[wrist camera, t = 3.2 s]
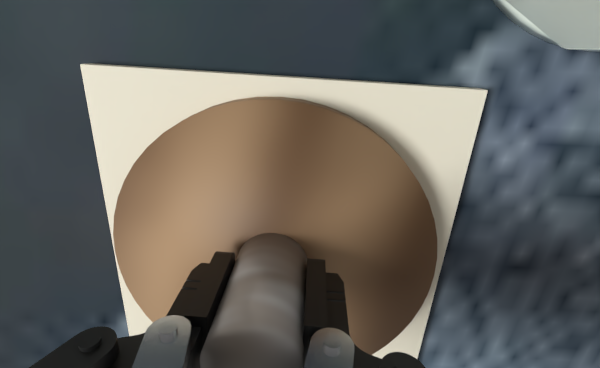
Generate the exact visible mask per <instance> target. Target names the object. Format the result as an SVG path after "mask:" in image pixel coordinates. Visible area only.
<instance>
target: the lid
mask: <svg viewBox="0 0 600 368" xmlns="http://www.w3.org/2000/svg"><path fill="white" fill-rule="evenodd" d="M113 238H114V247H115V254H116V257H117V261H118V265H119V269H120V271H121V274H122V276H123V279H124V281H125V284H126V286H127V288H128V289H129V291H130V293H131V295H132V296H133V298H134V300H135V301H136V303H137V304H138V305H139V307H140V308H141V309H142V311H143V312H144V313H145V315H146V316H147V317H148V318H149V319H150V320H151V321H152V322H154V321H156V320H158V319H160V318H162V317H165V316H166V315H167V313H168V312H169V310H170V308H171V306H172V305H173V303H174V301H175V299H176V297H177V296H178V294H179V292H180V290H181V289H182V287H183V285H184V283H185V281H186V279H187V278H188V276H189V274H190V272H191V271H192V270H193V269H194V268H195V267H196V266H198V265H199V264H200V263H210V261H211V259H212V257H213V255H214V253H215V252H216V251H220V252H234V253H235V264H234V267H233V270H232V272H231V275H230V278H229V280H228V283H227V286H226V288H225V291H224V293H223V296H222V299H221V301H220V304H219V307H218V309H217V312H216V314H215V317H214V320H213V322H212V325H211V328H210V330H209V333H208V335H207V338H206V341H205V343H204V346H203V349H202V351H201V354H200V368H303V367H304V345H303V330H304V310H305V290H306V271H307V258H310V259H323V260H325V267H326V273H338V275H339V276H340V278H341V279H342V280H343V282H344V288H345V298H346V307H347V316H348V325H349V333H350V337H351V339H352V341H353V342H354V344H355V345H356V346H357V347H358V348H359V349H361V350H362V351H364V352H366V353H368V354H370V355H373V354H374V353H376V352H377V351H379V350H380V349H382V348H383V347H385V346H386V345H387V344H389V343H390V342H391V341H392V340H393V339H395V338H396V337H397V336H398V335H399V334H400V333H401V332H402V331H403V330H404V329H405V328H406V327H407V326H408V325H409V324H410V322H411V321H412V320H413V318H414V317H415V315H416V314H417V313H418V311H419V310H420V308H421V306H422V305H423V303H424V301H425V299H426V297H427V295H428V293H429V290H430V287H431V284H432V281H433V278H434V274H435V268H436V262H437V233H436V226H435V220H434V217H433V213H432V210H431V207H430V204H429V201H428V199H427V197H426V195H425V193H424V191H423V189H422V187H421V185H420V183H419V181H418V180H417V178H416V177H415V176H414V174H413V173H412V171H411V170H410V168H409V167H408V166H407V164H406V163H405V161H404V160H403V159H402V157H401V156H400V155H399V154H398V153H397V152H396V151H395V150H394V149H393V148H392V147H391V146H390V144H389V143H388V142H387V141H386V140H385V139H383V138H382V137H381V136H379V135H378V134H377V133H376V132H374V131H373V130H372V129H371V128H369V127H368V126H366V125H365V124H363V123H361V122H360V121H358V120H356V119H355V118H353V117H351V116H349V115H348V114H345V113H343V112H340V111H338V110H336V109H333V108H331V107H328V106H326V105H322V104H318V103H314V102H311V101H307V100H303V99H295V98H287V97H251V98H244V99H237V100H232V101H228V102H225V103H221V104H218V105H214V106H211V107H209V108H207V109H205V110H202V111H200V112H198V113H196V114H194V115H191V116H190V117H188V118H186V119H184V120H182V121H181V122H179V123H178V124H176V125H175V126H173V127H172V128H170V129H168V130H167V131H165V132H164V133H163V134H161V135H160V136H159V137H158V138H157V139H156V140H155V141H154V142H152V143H151V144H150V145H149V146H148V147H147V148H146V149H145V150H144V152H143V153H142V154H141V155H140V157H139V158H138V159H137V160H136V161H135V163H134V164H133V166H132V168H131V169H130V171H129V173H128V175H127V176H126V178H125V180H124V182H123V185H122V188H121V190H120V193H119V195H118V198H117V203H116V208H115V213H114V225H113Z"/></svg>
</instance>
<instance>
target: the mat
mask: <svg viewBox="0 0 600 368" xmlns="http://www.w3.org/2000/svg"><path fill="white" fill-rule="evenodd" d="M80 66H81V72H82V77H83V83H84V88H85V94H86V99H87V105H88V110H89V116H90V121H91V127H92V132H93V138H94V143H95V149H96V154H97V160H98V165H99V171H100V176H101V182H102V187H103V193H104V198H105V204H106V209H107V215H108V220H109V226H110V231H111V237H112V242H113V248H114V253H115V247H114V238H113V225H114V213H115V208H116V203H117V198H118V195H119V193H120V190H121V188H122V185H123V182H124V180H125V178H126V176H127V175H128V173H129V171H130V169H131V168H132V166H133V164H134V163H135V161H136V160H137V159H138V158H139V157H140V155H141V154H142V153H143V152H144V150H145V149H146V148H147V147H148V146H149V145H150V144H151V143H152V142H154V141H155V140H156V139H157V138H158V137H159V136H160V135H161V134H163V133H164V132H165V131H167V130H168V129H170V128H172V127H173V126H175V125H176V124H178V123H179V122H181V121H182V120H184V119H186V118H188V117H190V116H191V115H194V114H196V113H198V112H200V111H202V110H205V109H207V108H209V107H211V106H214V105H218V104H221V103H225V102H228V101H232V100H237V99H244V98H251V97H287V98H295V99H303V100H307V101H311V102H314V103H318V104H322V105H326V106H328V107H331V108H333V109H336V110H338V111H340V112H343V113H345V114H348V115H349V116H351V117H353V118H355V119H356V120H358V121H360V122H361V123H363V124H365V125H366V126H368V127H369V128H371V129H372V130H373V131H374V132H376V133H377V134H378V135H379V136H381V137H382V138H383V139H385V140H386V141H387V142H388V143H389V144H390V146H391V147H392V148H393V149H394V150H395V151H396V152H397V153H398V154H399V155H400V156H401V157H402V159H403V160H404V161H405V163H406V164H407V166H408V167H409V168H410V170H411V171H412V173H413V174H414V176H415V177H416V178H417V180H418V181H419V183H420V185H421V187H422V189H423V191H424V193H425V195H426V197H427V199H428V201H429V204H430V207H431V210H432V213H433V217H434V220H435V226H436V233H437V262H436V268H435V274H434V278H433V281H432V284H431V287H430V290H429V293H428V295H427V297H426V299H425V301H424V303H423V305H422V306H421V308H420V310H419V311H418V313H417V314H416V315H415V317H414V318H413V320H412V321H411V322H410V324H409V325H408V326H407V327H406V328H405V329H404V330H403V331H402V332H401V333H400V334H399V335H398V336H397V337H396V338H395V339H393V340H392V341H391V342H390V343H389V344H387V345H386V346H385V347H383V348H382V349H380V350H379V351H377V352H376V353H374V354H373V356H375V357H378V358H381V359H382V358H383V357H384V356H385V355H387V354H389V353H391V352H403V353H406V354H409V355H411V356H413V357H415V358H416V359H417V358H418V355H419V351H420V347H421V343H422V339H423V336H424V332H425V328H426V324H427V320H428V317H429V313H430V309H431V305H432V301H433V298H434V294H435V290H436V286H437V282H438V278H439V275H440V271H441V267H442V263H443V259H444V256H445V252H446V248H447V244H448V240H449V237H450V233H451V229H452V225H453V221H454V217H455V214H456V210H457V206H458V202H459V198H460V195H461V191H462V187H463V183H464V179H465V176H466V172H467V168H468V164H469V160H470V156H471V153H472V149H473V145H474V141H475V137H476V134H477V130H478V126H479V122H480V118H481V115H482V111H483V107H484V103H485V99H486V95H487V92H488V90H485V89H481V88H468V87H453V86H437V85H421V84H406V83H390V82H374V81H359V80H343V79H327V78H312V77H296V76H280V75H265V74H249V73H233V72H218V71H202V70H186V69H171V68H155V67H139V66H124V65H108V64H93V63H88V64H80ZM115 259H116V264H117V270H118V275H119V281H120V286H121V291H122V297H123V302H124V308H125V313H126V319H127V324H128V330H129V335H130V336H134V335H139V334H142V333H145V332H146V330H147V328H148V327H149V326H150V325H151V324H152V323H153V322H152V321H151V320H150V319H149V318H148V317H147V316H146V315H145V313H144V312H143V311H142V309H141V308H140V307H139V305H138V304H137V303H136V301H135V300H134V298H133V296H132V295H131V293H130V291H129V289H128V288H127V286H126V284H125V281H124V279H123V276H122V274H121V271H120V269H119V265H118V261H117V257H116V254H115Z"/></svg>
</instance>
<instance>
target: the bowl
mask: <svg viewBox="0 0 600 368" xmlns="http://www.w3.org/2000/svg"><path fill="white" fill-rule="evenodd" d="M492 1H493V2H494V4H495V5H496V6H497V7H498V8H499V9H500V10H501V11H502V12H503V13H504V14H505V15H506V16H507V17H508V18H509V19H510V20H511V21H512V22H513V23H515V24H516V25H518V26H519V27H521V28H522V29H523V30H525V31H526V32H528V33H529V34H531V35H533V36H535V37H537V38H540V39H542V40H544V41H546V42H548V43H551V44H555V45H558V46H560V47H562V48H565V49H572V50H583V51H594V52H600V0H492Z"/></svg>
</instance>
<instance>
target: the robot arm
mask: <svg viewBox="0 0 600 368" xmlns="http://www.w3.org/2000/svg"><path fill="white" fill-rule="evenodd" d="M234 264H235V253H234V252H220V251H216V252H215V253H214V255H213V257H212V259H211V261H210V263H200V264H199V265H198V266H196V267H195V268H194V269H193V270H192V271H191V272H190V274H189V276H188V278H187V279H186V281H185V283H184V285H183V287H182V289H181V290H180V292H179V294H178V296H177V297H176V299H175V301H174V303H173V305H172V306H171V308H170V310H169V312H168V313H167V315H166V316H165V317H162V318H160V319H158V320H156V321H154V322H153V323H152V324H151V325H150V326H149V327H148V328H147V330H146V332H145V333H142V334H139V335H134V336H128V337H122V338H117V335H116V333H115V331H114V330H113V329H111V328H108V327H94V328H90V329H87V330H85V331H83V332H81V333H79V334H77V335H76V336H74V337H73V338H71V339H70V340H68V341H67V342H66V343H64V344H63V345H61V346H60V347H58V348H57V349H55V350H54V351H53V352H51V353H50V354H48V355H47V356H45V357H44V358H42V359H41V360H39V361H38V362H37V363H35V364H34V365H32V366H31V367H29V368H200V354H201V351H202V349H203V346H204V343H205V341H206V338H207V335H208V333H209V330H210V328H211V325H212V322H213V320H214V317H215V314H216V312H217V309H218V307H219V304H220V301H221V299H222V296H223V293H224V291H225V288H226V286H227V283H228V280H229V278H230V275H231V272H232V270H233V267H234ZM303 345H304V367H303V368H425V367H424V365H423V364H422V363H421V362H420V361H419V360H417V359H416V358H415V357H413V356H411V355H409V354H406V353H403V352H391V353H389V354H387V355H385V356H384V357H383V358H382V359H381V358H378V357H375V356H373V355H370V354H368V353H366V352H364V351H362V350H361V349H359V348H358V347H357V346H356V345H355V344H354V342H353V341H352V339H351V337H350V333H349V325H348V316H347V307H346V298H345V288H344V282H343V280H342V279H341V278H340V276H339V275H338V273H326V267H325V260H323V259H310V258H307V271H306V290H305V310H304V330H303Z"/></svg>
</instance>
